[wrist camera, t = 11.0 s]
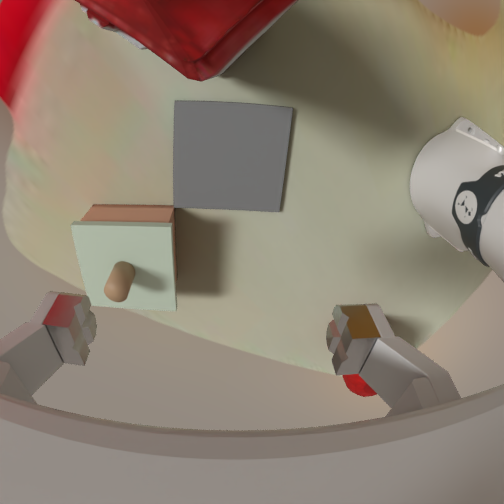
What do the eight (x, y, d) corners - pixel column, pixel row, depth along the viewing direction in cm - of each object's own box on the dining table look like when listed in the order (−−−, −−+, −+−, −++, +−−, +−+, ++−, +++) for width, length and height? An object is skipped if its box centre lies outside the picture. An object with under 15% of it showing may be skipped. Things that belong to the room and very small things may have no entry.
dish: (174, 205, 39) (167, 226, 34) (177, 277, 44) (172, 302, 40) (93, 204, 37) (77, 224, 33) (105, 273, 43) (93, 297, 39)
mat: (291, 107, 33) (292, 108, 33) (278, 210, 40) (279, 212, 39) (175, 100, 32) (174, 101, 31) (174, 205, 39) (173, 207, 38)
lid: (172, 222, 34) (164, 247, 30) (177, 306, 40) (172, 334, 36) (73, 221, 32) (56, 243, 28) (92, 300, 39) (81, 326, 35)
